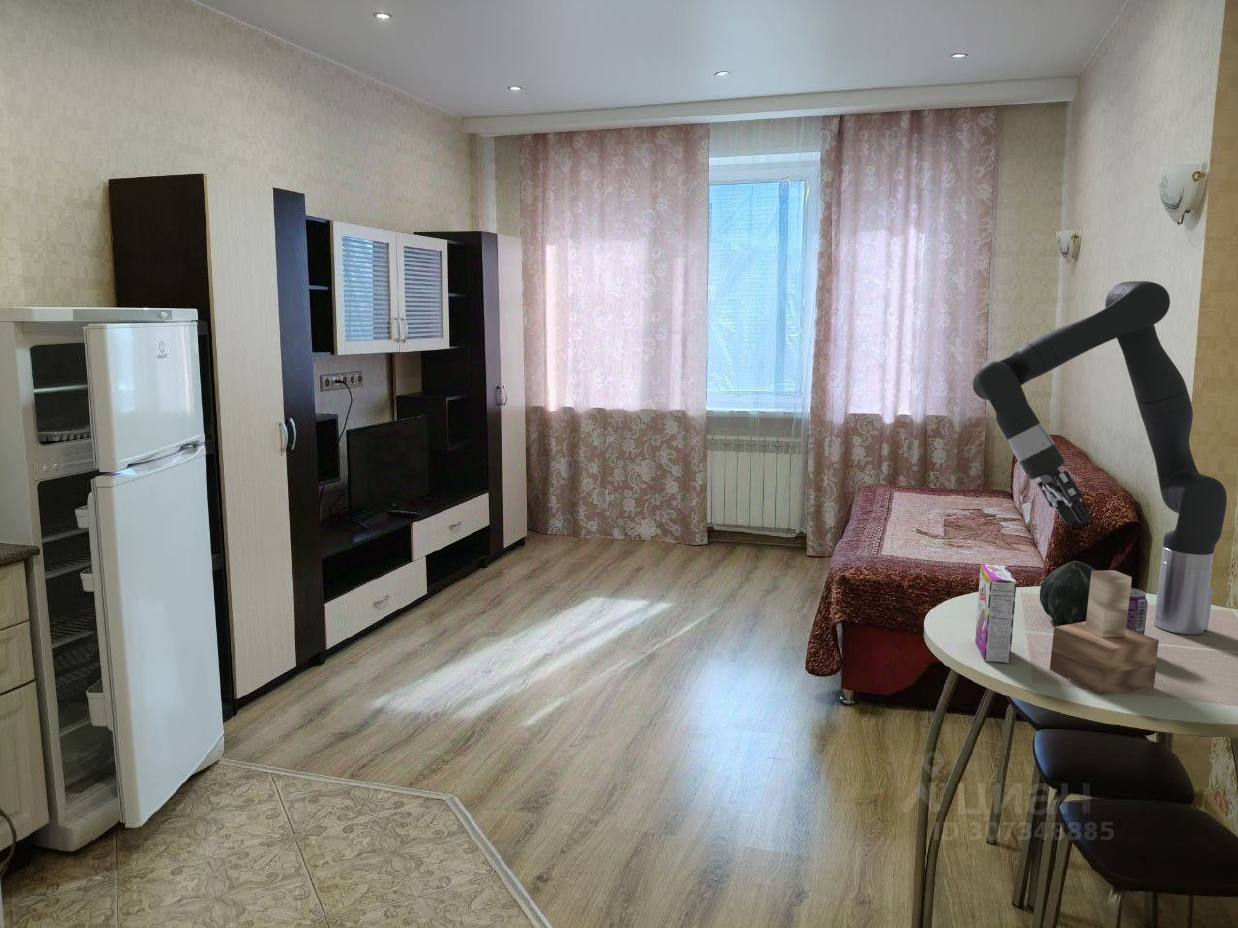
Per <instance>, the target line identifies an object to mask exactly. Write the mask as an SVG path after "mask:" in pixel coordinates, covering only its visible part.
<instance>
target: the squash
mask: <svg viewBox="0 0 1238 928" xmlns="http://www.w3.org/2000/svg"><path fill="white" fill-rule="evenodd" d="M1091 571H1097V570H1096V569H1095V568H1093V567H1092V566H1090V565H1088V564H1087V563H1084V562H1082V561H1080V560H1073V561H1070V562H1067V563H1065V564H1062V565H1061V566H1059V567H1057V568H1055V569H1054V570H1053V571H1052V572H1051V573H1049V575H1047V576H1046V578H1045V579H1044V580H1043V581H1042V583H1041V586H1040V589H1039V601H1040V603H1041V606H1042V609H1043V611H1044V612H1045V613H1046V614H1047V615H1048V616H1049V617H1050V618H1051V620H1052V621H1053V623H1055V624H1056V625H1057V626H1062V625H1068V624H1074V623H1080V622H1085V621H1086V617H1087V608H1088V599H1089V589H1090V580H1091Z"/></svg>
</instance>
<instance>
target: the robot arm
mask: <svg viewBox="0 0 1238 928" xmlns="http://www.w3.org/2000/svg"><path fill="white" fill-rule="evenodd" d="M1104 305H1105V307H1104V308H1103V309H1101V310H1100V311H1098V312H1096V313H1094V314H1092V315H1089V316H1087V317H1084V318H1082V319H1080V320H1078V321H1075V322H1072V323H1069V324H1067V325H1063V326H1061V327H1058V328H1057V329H1054V330H1051V331H1049V332H1047V333H1045V334H1043V335H1041V336H1039V337H1037V338H1036V339H1033V340H1032V341H1030V342H1028V343H1025V344H1024V345H1022V346H1020V347H1019V348H1018V349H1016V350H1015V351H1014V352H1013V353H1012V354H1010V355H1007V357H1004V358H1002V359H1000V360H999V361H991V362H988V363H986V364H985V365H983V366H982V368H980V369H979V370H978V372H977V373H976V374H974V375H975V376H974V377H973V381H972V388H973V391H974V393H975V394H976V395H977V396H978V397H979V398H981V399H982V400H986V401H989V403H990V404H991V406H992V408H993V410H994V412H995V418H996V420H995V421H996V422H997V425H998V427H999V428H1000V430H1001V431H1002V434H1003V436H1005V438H1006V440H1007V442H1008V444H1009V446H1010V449H1011V451H1012V452H1013V455H1014V456H1015V458H1016V459H1017V461H1018V463H1019V465H1020V466H1021V467H1022V470H1023V472H1024V473H1025V474H1026V476H1027V478H1028V479H1029V480H1031V481H1033V480H1036V479H1037V478H1039V479H1040V480H1039V481H1037V482H1036V485H1037V487H1038V488H1039V490H1040V491H1041V493H1042V495H1043V497H1044V499H1045V500H1046V502H1047V503H1048V506H1049V507H1050V508H1053V509H1054V510H1055V511H1057V512H1058V514H1059V516H1060V517H1061V520H1062V521H1063V522H1064V524H1065V525H1066V526H1071V525H1073V524H1074V523H1077V522H1078V523H1079V524H1084V523H1086V522H1088V521H1089V520H1090V519H1091V516H1090V514H1089V512H1088V511H1087V509H1086V508H1085V506H1084V504H1083V503H1082V501H1083V500H1082V498H1084V495H1083V493H1082V492H1081V491H1080V489H1079V488H1078V486H1077V484H1076V482H1075V481H1074V480H1073V478H1072V476H1071V474H1070V473H1069V471H1068V470H1064V471H1061V470H1060V468H1061V466H1064V465H1065V464H1066V460H1065V458H1064V456H1062V453H1061V452H1060V451H1059V449H1058V447H1057V445H1056V443H1055V442H1054V440H1053V439H1052V437H1051V435H1050V434H1049V432H1048V431H1047V429H1046V428H1045V427H1044V426H1043V425H1042V424H1041V421H1040V420H1039V418H1038V416H1037V415H1036V413H1035V412H1034V410H1033V408H1032V407H1031V406H1030V405H1029V402H1028V400H1027V397H1026V395H1025V392H1024V389H1023V388H1022V385H1025V384H1026V383H1027V382H1029V381H1031V380H1033V379H1036V378H1038V377H1041V376H1043V375H1044V374H1047V373H1048V372H1051V371H1052V370H1054V369H1056V368H1058V367H1061V366H1062V365H1064V364H1065V363H1067V362H1069V361H1071V360H1073V359H1075V358H1077V357H1079V356H1080V355H1082V354H1085V353H1087V352H1088V351H1090V350H1091V351H1092V350H1093V349H1094V348H1097V347H1099V346H1101V345H1103V344H1106V343H1107V342H1110V341H1113V340H1115V339H1116V340H1117V341H1118V344H1119V346H1120V349H1121V351H1122V355H1123V358H1124V362H1125V364H1126V368H1127V372H1128V375H1129V378H1130V381H1131V385H1132V389H1133V392H1134V396H1135V400H1136V403H1137V408H1138V410H1139V413H1140V416H1141V417H1140V418H1141V419H1142V422H1143V425H1144V428H1145V432H1146V435H1147V438H1148V441H1149V445H1150V447H1151V450H1152V454H1153V458H1154V462H1155V466H1156V473H1157V478H1158V479H1157V480H1158V483H1159V489H1160V490H1159V491H1160V494H1161V498H1162V501H1163V502H1164V504H1165V506H1166V507H1168V509H1170V510H1171V511H1172V512H1174V513H1176V514H1178V516H1177V521H1176V527H1175V528H1174V529H1173V530H1171V531H1167V532H1166V533H1165V534H1164V536H1163V541H1162V550H1161V551H1162V552H1161V560H1160V561H1161V562H1160V567H1159V568H1160V569H1159V574H1158V575H1159V576H1158V577H1159V578H1158V586H1157V594H1156V600H1155V601H1156V602H1155V609H1154V617H1153V618H1154V619H1153V624H1154V625H1155V626H1156V627H1157V628H1159V629H1161V630H1165V631H1168V632H1172V633H1175V634H1182V635H1200V634H1203V633H1204V632H1205V631H1208V630H1209V623H1210V615H1211V607H1212V599H1213V592H1214V587H1213V586H1212V585H1211V578H1212V571H1213V561H1214V554H1215V550H1216V546H1217V543H1218V542H1219V540H1220V539H1221V535H1222V532H1223V526H1224V522H1225V516H1226V512H1227V511H1226V509H1227V500H1228V499H1227V491H1226V488H1225V486H1224V484H1223V483H1222V482H1221V481H1219V480H1218V479H1216V478H1214V477H1211V476H1208V475H1205V474H1202V473H1200V472H1199V471H1198V468H1197V466H1196V464H1195V463H1196V462H1195V461H1194V457H1193V455H1192V452H1191V451H1192V450H1191V446H1190V436H1191V431H1192V425H1193V418H1194V417H1193V416H1194V411H1193V405H1192V401H1191V397H1190V393H1189V392H1188V387H1187V384H1186V381H1185V379H1184V377H1183V376H1182V374H1181V372H1180V370H1179V368H1178V367H1176V365H1175V363H1174V362H1173V360H1172V359H1171V357H1170V356H1169V355H1168V353H1167V352H1166V351H1165V349H1164V348H1163V346H1162V344H1161V342H1160V339H1159V337H1158V334H1157V330H1156V326H1155V324H1158V323H1159V322H1160V321H1161V320H1163V319H1164V318H1165V316H1166V315H1167V313H1168V312H1169V309H1170V307H1171V297H1170V294H1169V292H1168V289H1166V288H1165V287H1164V286H1163V285H1162V284H1159V283H1157V282H1154V281H1149V280H1148V281H1147V280H1140V281H1139V280H1138V281H1137V280H1135V281H1134V280H1132V281H1124V282H1120V283H1117V284H1116V285H1114V286H1113V287H1112V288H1111V289H1110V290H1109V291H1108V294H1107V295H1106V299H1105V303H1104ZM1059 467H1060V468H1059ZM1204 630H1205V631H1204Z"/></svg>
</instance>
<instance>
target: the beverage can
mask: <svg viewBox="0 0 1238 928" xmlns="http://www.w3.org/2000/svg"><path fill="white" fill-rule="evenodd" d="M1146 596H1147V593H1146V591H1143V590H1141V589H1137V588H1133V587H1131V589H1130V598H1129V607H1128V616H1127V624H1126V629H1129V630H1132V631H1135V632H1137V633H1140V634H1143V635H1145V631H1146V621H1147V614H1148V613H1147V612H1148V605H1149V604H1148V599H1147V597H1146Z"/></svg>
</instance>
